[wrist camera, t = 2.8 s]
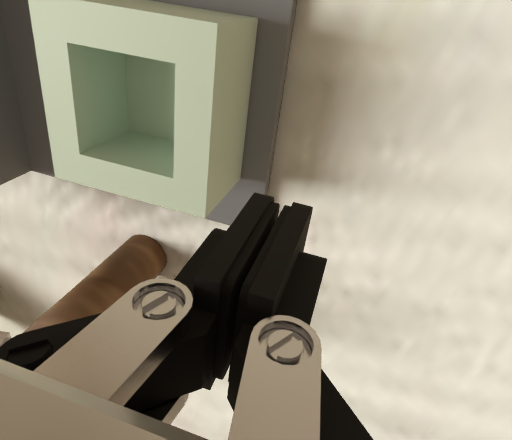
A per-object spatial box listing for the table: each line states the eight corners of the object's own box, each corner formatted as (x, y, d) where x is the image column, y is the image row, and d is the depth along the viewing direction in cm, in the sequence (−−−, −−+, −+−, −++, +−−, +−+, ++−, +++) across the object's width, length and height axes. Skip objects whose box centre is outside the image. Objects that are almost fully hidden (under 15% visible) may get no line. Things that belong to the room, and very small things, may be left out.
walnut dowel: (166, 241, 34) (68, 344, 24) (166, 278, 36) (76, 386, 26) (125, 229, 35) (13, 323, 25) (127, 266, 37) (24, 366, 27)
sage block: (258, 17, 22) (217, 23, 17) (240, 178, 28) (204, 218, 22) (103, -8, 24) (26, -9, 19) (113, 147, 30) (55, 177, 24)
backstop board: (306, -63, 21) (233, -111, 12) (262, 226, 30) (202, 326, 21) (-31, -102, 25) (-277, -160, 16) (21, 161, 35) (-117, 219, 25)
